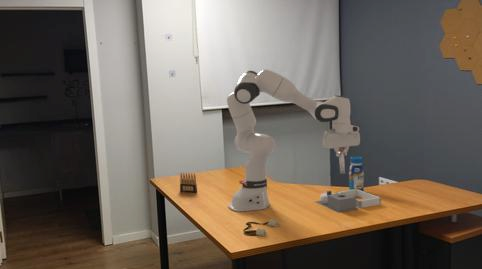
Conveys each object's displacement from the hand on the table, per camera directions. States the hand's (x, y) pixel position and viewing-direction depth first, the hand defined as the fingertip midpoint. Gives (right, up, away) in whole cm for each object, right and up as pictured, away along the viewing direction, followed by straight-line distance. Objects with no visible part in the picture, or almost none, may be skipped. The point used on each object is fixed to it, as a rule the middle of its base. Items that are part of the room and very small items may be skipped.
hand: (341, 155), depth 232 cm
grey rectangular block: (-1, -27, +8) cm, 29 cm away
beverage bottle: (+17, -23, +39) cm, 48 cm away
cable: (-42, -33, -19) cm, 57 cm away
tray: (+12, -26, +14) cm, 32 cm away
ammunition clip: (-82, -24, +51) cm, 99 cm away
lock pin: (+1, -9, 0) cm, 9 cm away
